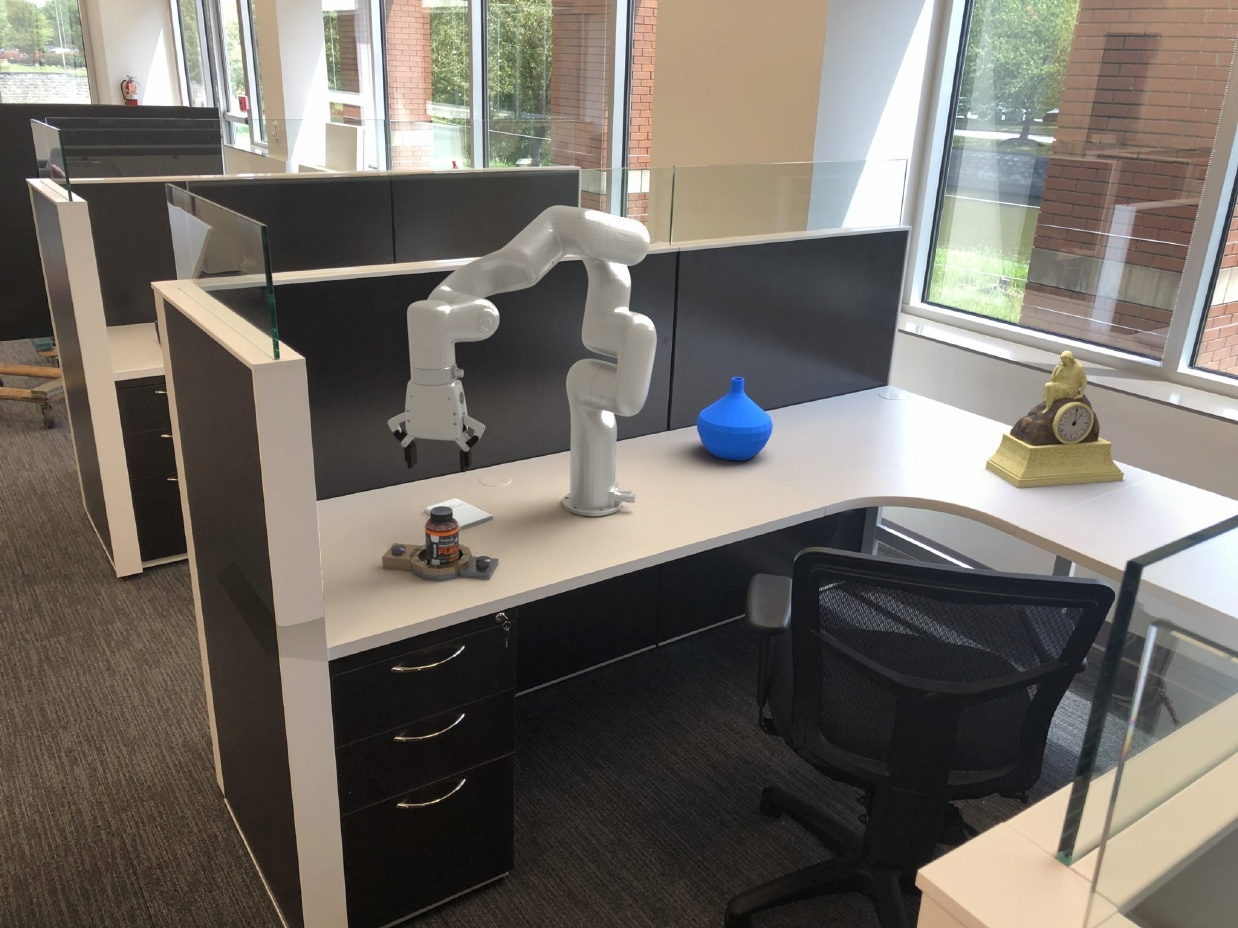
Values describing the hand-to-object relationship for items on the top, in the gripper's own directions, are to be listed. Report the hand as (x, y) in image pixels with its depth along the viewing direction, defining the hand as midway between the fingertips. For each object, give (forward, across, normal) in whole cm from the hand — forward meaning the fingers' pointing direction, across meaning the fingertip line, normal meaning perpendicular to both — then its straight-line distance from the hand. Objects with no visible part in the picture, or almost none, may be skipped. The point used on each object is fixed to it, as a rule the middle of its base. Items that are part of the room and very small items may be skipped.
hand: (438, 467), depth 171 cm
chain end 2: (+19, -2, +1) cm, 19 cm away
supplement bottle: (+20, 0, 0) cm, 20 cm away
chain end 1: (+19, +3, +1) cm, 19 cm away
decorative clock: (+22, -126, -76) cm, 149 cm away
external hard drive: (+20, +4, -22) cm, 31 cm away
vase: (+21, -50, -72) cm, 90 cm away
